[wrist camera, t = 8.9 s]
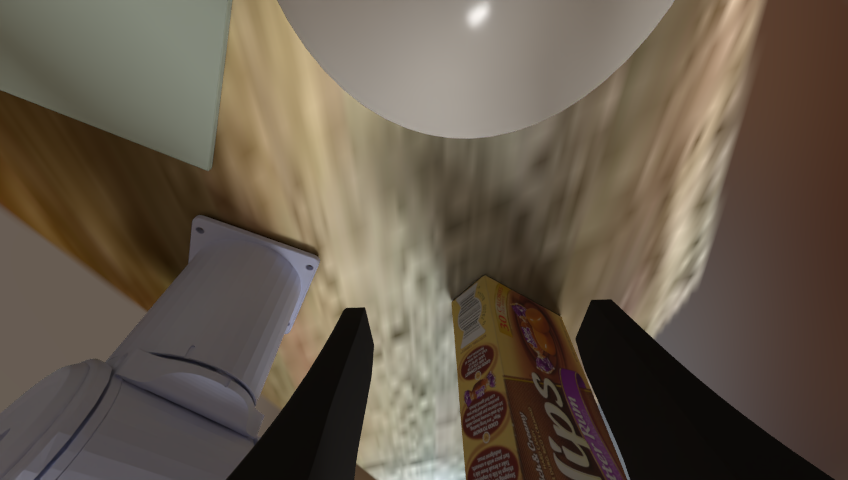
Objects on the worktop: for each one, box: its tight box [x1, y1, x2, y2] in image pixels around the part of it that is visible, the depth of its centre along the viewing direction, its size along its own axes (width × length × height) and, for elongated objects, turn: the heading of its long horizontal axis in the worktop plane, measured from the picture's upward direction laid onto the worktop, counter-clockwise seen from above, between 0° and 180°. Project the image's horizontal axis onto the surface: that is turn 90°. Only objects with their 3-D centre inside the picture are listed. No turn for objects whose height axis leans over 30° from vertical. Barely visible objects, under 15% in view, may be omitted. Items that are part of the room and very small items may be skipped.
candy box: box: [452, 275, 627, 480], centre depth 20 cm, size 9×4×15 cm, turn 55°
